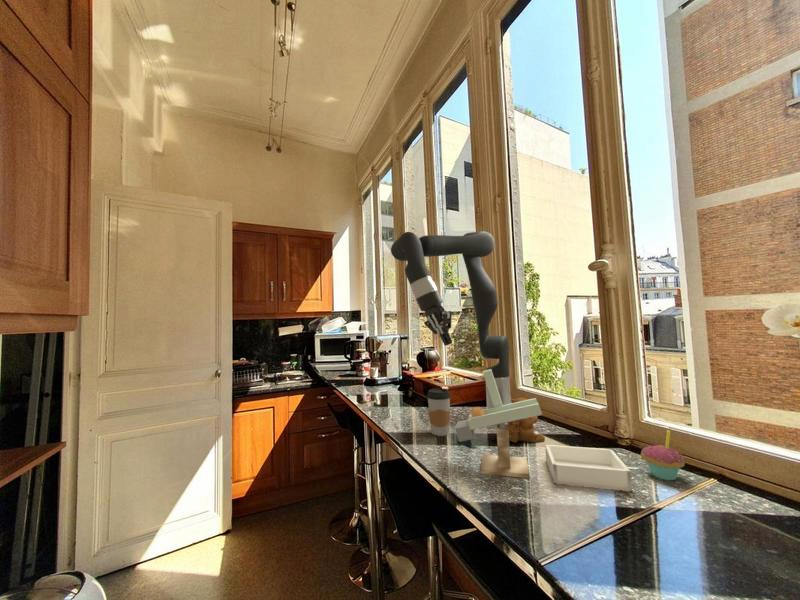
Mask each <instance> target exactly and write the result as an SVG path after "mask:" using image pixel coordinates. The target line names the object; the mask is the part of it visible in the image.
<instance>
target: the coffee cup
mask: <svg viewBox="0 0 800 600" xmlns="http://www.w3.org/2000/svg"><path fill="white" fill-rule="evenodd" d="M426 398H427V403H428V416H429V417H428V418H429V425H430V432H431V434H432V435H433V434H434V435H433V436H436V435H437V436H436V437H445V436H447V435H449V433H450V421H451V420H450V418H451V417H450V413H451V409H450V408H451V407H450V405H451V403H450V402H451V401H450V400H451V393H450V391H449V389H447V388H438V387H437V388H431V389H429V390H428V392H427V395H426Z"/></svg>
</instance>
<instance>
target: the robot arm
mask: <svg viewBox="0 0 800 600" xmlns="http://www.w3.org/2000/svg"><path fill="white" fill-rule="evenodd" d="M494 248H495V239H494V236H493V234H491V233H489V232H488V231H474V232H473V231H472V232H467V233H464V234H463V235H439V234H435V235H434V234H433V235H432V234H431V235H423V236H420V237H418V236H417V234H415V233H414V232H411V231H405V232H404V233H402V234H401V235H400V236H399V237H398V238H397V239H396V240H395V241H394V242H393V243H392V245H391V248H390V253H391V256H393V258H395V260H398V261H399V262H400V261H402V262H406V263H407V264H406V266H405V268H404V274H405V276H406V279H407V280H408V283H409V285H410V288H411V291H412V294H413V296H414V299H415V301H416V303H417V305H418V308H419V310H420V312H424V314H425V318H426V321H424V322H423V323H424V325H425V327H427V328H428V329H429V331H431V332H432V333H433V334H434V335H437V336H440V339H441V341H442V343H443V345H444V346H450V345H452V343H453V339H452V338H451V335H450V333H449V330H451V329H452V313H453V312H452V311H451V310H448V311H446V310H445V307H444V306H443V305H442V304H443V299H442V296H441V293H440V292H439V290H438V288H437V285H436V282H435V281H434V279H433V277H432V276H431V274H430V271H429V269H428V268H427V265H426V261H425V257H443V256H452V255H453V256H454V255H462V258H463V260H464V264H465V268H466V272H467V278H468V281H469V286H470V291H471V298H472V299H471V300H472V304H473V309H474V312H475V313H474V314H475V318H476V324H477V332H478V343H479V352H480V354H481V356H482V357H483V359H489V360H490V359H492V360H493V359H495V360H498V363H497V364H494V365H493V366H490V367H486V368H485V370H489V369H491V370H492V373H493V376H494V379H495V383H496V386H497V389H498V392H499V395H500V398H501V401H502V404H503V405H507V404H511V403H512V402H511V399H512V395H511V382H510V381H511V380H510V342H509V339H508V336H506V335H490V334H489V326H490V324H491V321H492V319H493V317H494V315H495V313H496V311H497V309H498V305H499V301H498V300H499V299H498V295H497V290H496V286H495V285H494V282H493V281H492V280H491V277H490V276H489V275H488V274H487V272H486V271H485V268H484V267H483V264H482V259H481V258H482V257H483V258H484V257H487V256H489V255H490V254H492V252H493V251H494ZM485 391H486V392H485V393H486V394H485V395H486V397H485V398H486V409H489V408H493V407H494V406H493V403H492V400H491V396H490V393H489V390H488V387H487V384H486V383H485Z"/></svg>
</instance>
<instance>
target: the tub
mask: <svg viewBox="0 0 800 600" xmlns="http://www.w3.org/2000/svg"><path fill="white" fill-rule="evenodd" d="M544 450H545V461H546V464H547V468H548V471H549V473H550V476H551V479H552V483H553V484H554V483H556V484H555V485H562V484H567V485H566V486H572V485H573V486H574V487H582V486H584V487H583V488H591V487H594V488H593V489H602V490H611V489H614V490H613V491H620V490H622V492H630V491H632V492H633V483H632V471H631V470H630V469H629V468H628V466H627V465H626V464H625V463H624V462H623V461H622V459H621V458H620V457H619V455H617V454H616V452H615V451H614V450H613V449H611V448H610V449H609V448H600V447H599V448H598V447H597V448H596V447H585V446H584V447H583V446H569V445H557V444H545V448H544Z"/></svg>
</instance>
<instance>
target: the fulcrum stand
mask: <svg viewBox="0 0 800 600" xmlns="http://www.w3.org/2000/svg"><path fill="white" fill-rule="evenodd" d="M496 441H497V443H496V444H497V454H486V453H482V455H481V464H480V474H484V475H491V476H492V475H493V476H503V477H514V478H522V479H530V478H531V475H530V474H531V473H530V469H529V465H528V460H527V457H521V456H520V457H519V456H511V454H510V453H511V451H510V440H509V429H508V423H505V429H503V430H502V429H500V424H496Z"/></svg>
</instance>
